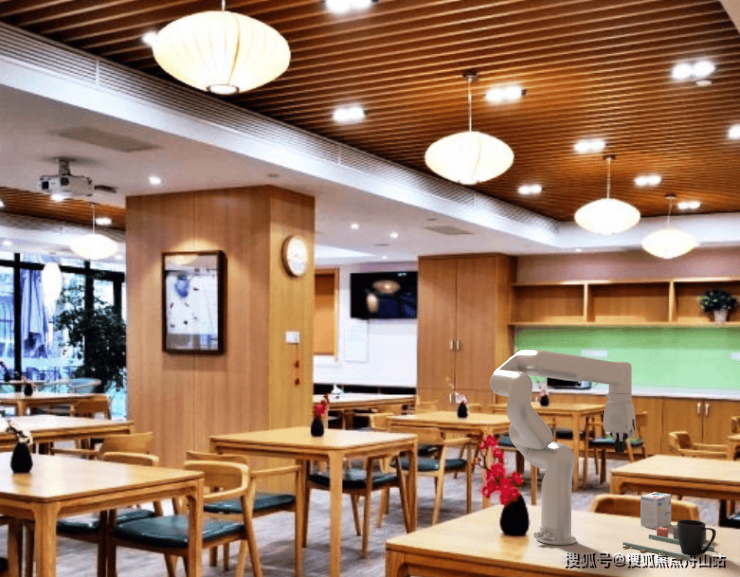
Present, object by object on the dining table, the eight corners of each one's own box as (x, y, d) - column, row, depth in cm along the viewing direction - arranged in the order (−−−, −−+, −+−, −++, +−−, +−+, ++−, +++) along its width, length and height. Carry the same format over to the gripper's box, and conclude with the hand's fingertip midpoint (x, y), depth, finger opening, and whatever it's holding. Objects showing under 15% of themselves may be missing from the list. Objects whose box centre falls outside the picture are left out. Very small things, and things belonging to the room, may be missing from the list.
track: (683, 562, 267) (683, 558, 267) (618, 547, 283) (618, 543, 283) (714, 550, 280) (714, 547, 280) (650, 537, 296) (650, 534, 296)
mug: (706, 561, 268) (706, 529, 269) (671, 552, 278) (671, 521, 278) (722, 557, 273) (722, 525, 274) (687, 548, 283) (687, 518, 283)
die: (666, 539, 295) (666, 528, 295) (656, 537, 296) (656, 527, 297) (668, 537, 297) (668, 527, 298) (659, 536, 299) (659, 525, 299)
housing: (696, 545, 287) (697, 532, 287) (668, 539, 294) (668, 527, 295) (711, 540, 294) (711, 528, 294) (682, 534, 301) (682, 522, 302)
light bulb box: (654, 521, 321) (654, 491, 321) (671, 525, 316) (672, 494, 316) (639, 526, 313) (639, 495, 313) (657, 529, 308) (657, 498, 309)
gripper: (594, 397, 306) (594, 451, 306) (634, 400, 295) (633, 456, 295) (606, 396, 311) (606, 449, 311) (645, 399, 301) (645, 454, 300)
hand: (619, 452), depth 303 cm, fingers closed
